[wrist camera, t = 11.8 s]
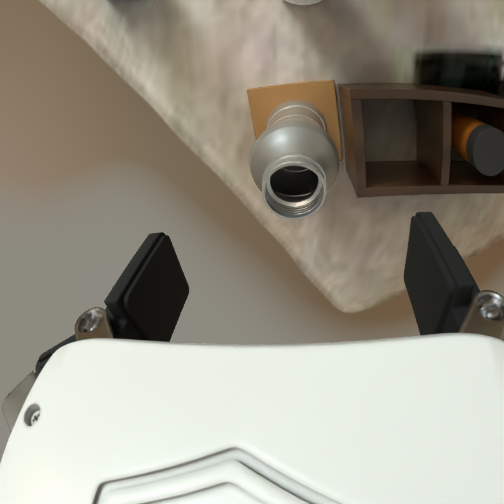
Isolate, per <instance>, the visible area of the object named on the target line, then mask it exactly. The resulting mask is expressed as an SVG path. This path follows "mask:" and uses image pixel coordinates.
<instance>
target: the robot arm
mask: <svg viewBox="0 0 504 504" xmlns="http://www.w3.org/2000/svg"><path fill="white" fill-rule="evenodd" d="M404 282H405V285H406V288H407V291H408V295H409V297H410V301H411V304H412V307H413V311H414V314H415V317H416V321H417V324H418V328H419V331H420V336H409V337H399V338H389V339H376V340H364V341H349V342H332V343H308V344H270V345H269V344H268V345H267V344H260V345H258V344H256V345H255V344H201V343H177V342H169V341H170V339H171V336H172V334H173V331H174V329H175V326H176V324H177V321H178V319H179V316H180V314H181V311H182V309H183V306H184V304H185V301H186V299H187V297H188V294H189V286H188V283H187V281H186V278H185V276H184V273H183V271H182V268H181V266H180V263H179V261H178V258H177V255H176V253H175V250H174V248H173V245H172V242H171V240H170V238H169V236H167V235H165V234H164V233H163V232H162V233H152V234H149V235H148V237H147V238H146V239H145V241H144V242H143V244H142V245H141V247H140V248H139V249H138V251H137V252H136V254H135V255H134V257H133V258H132V260H131V261H130V263H129V264H128V266H127V267H126V268H125V270H124V272H123V273H122V275H121V276H120V278H119V279H118V281H117V282H116V284H115V285H114V287H113V288H112V290H111V292H110V293H109V295H108V296H107V298H106V299H105V301H104V302H105V304H106V306H107V307H106V309H105V310H104V309H103V308H99V307H95V308H91V309H89V310H87V311H86V312H84V313H83V314H82V315H81V316H80V317H79V318H78V319H77V321H76V324H75V334H74V335H73V336H71V337H69V338H68V339H66V340H65V341H63V342H61V343H59V344H58V345H56V346H54V347H53V348H51V349H49V350H48V351H46V352H44V353H43V354H42V355H41V356H40V357H39V360H38V361H37V364H36V373H34V372H33V371H32V372H31V373H30V374H29V375H28V376H27V377H26V378H25V379H24V380H23V381H22V382H20V383H19V384H18V385H17V386H16V387H15V388H14V390H12V391H11V392H10V393H9V394H8V395H7V397H6V398H5V399H4V402H3V405H2V411H3V414H4V417H5V419H6V422H7V425H8V427H9V429H10V432H11V435H10V438H9V440H8V443H7V446H6V449H5V452H4V454H3V457H2V460H1V463H0V504H504V297H503V296H502V295H500V294H498V293H497V292H494V291H490V290H484V291H480V290H479V288H478V286H477V284H476V282H475V280H474V279H473V277H472V275H471V273H470V271H469V270H468V268H467V266H466V264H465V262H464V261H463V259H462V257H461V255H460V254H459V252H458V250H457V249H456V247H455V246H453V245H452V243H451V241H450V240H449V238H448V237H447V235H446V233H445V232H444V230H443V229H442V227H441V225H440V224H439V222H438V221H437V219H436V218H435V216H434V215H433V213H432V212H417V213H416V215H415V216H413V217H412V218H411V225H410V234H409V242H408V250H407V257H406V264H405V270H404Z"/></svg>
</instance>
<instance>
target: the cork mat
mask: <svg viewBox="0 0 504 504" xmlns="http://www.w3.org/2000/svg"><path fill="white" fill-rule="evenodd" d="M247 94H248V99H249V104H250V109H251V114H252V119H253V124H254V130H255V135H256V140H257V139H258V137H259V136H260V135H261V134H262V133H263V132H264V131H265V130H266V123H267V119H268V117H269V115H270V113H271V112H272V111H273V110H274V108H276V107H277V106H278V105H280V104H282V103H284V102H287V101H290V100H303V101H306V102H309V103H311V104H313V105H315V106H316V107H317V108H318V109H319V110H320V111H321V112H322V113H323V115H324V117H325V119H326V123H327V133H328V135H329V136H330V137H331V138H332V140H333V141H334V143H335V145H336V147H337V150H338V154H339V161H342V152H341V140H340V130H339V120H338V111H337V102H336V94H335V86H334V80H327V81H314V82H302V83H293V84H284V85H276V86H269V87H262V88H255V89H249V90H247Z"/></svg>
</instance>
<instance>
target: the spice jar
mask: <svg viewBox="0 0 504 504" xmlns="http://www.w3.org/2000/svg"><path fill="white" fill-rule="evenodd" d="M451 149H452V150H453V151H454V152H456V153H457V154H459V155H460V156H461V157H463V158H464V159H465V160H467V161H468V162H469V163H470V164H471V165H472V166H473V167H474V168H475V169H477V170H478V171H479V172H480V173H482V174H483V175H486V176H494V175H497V174H499V173H500V172H501V171H502V170H503V169H504V133H503V132H502V131H500V130H499V129H497V128H495V127H493V126H491V125H488V124H485V123H483V122H481V121H479V120H476V119H474V118H472V117H470V116H468V115H465V114H463V113H461V112H459V111H456V110H451Z"/></svg>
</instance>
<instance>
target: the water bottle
mask: <svg viewBox="0 0 504 504" xmlns="http://www.w3.org/2000/svg"><path fill="white" fill-rule="evenodd" d="M285 1H287V2H289V3H292V4H297V5H311V4H315V3H318V2H320V1H322V0H285Z"/></svg>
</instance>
